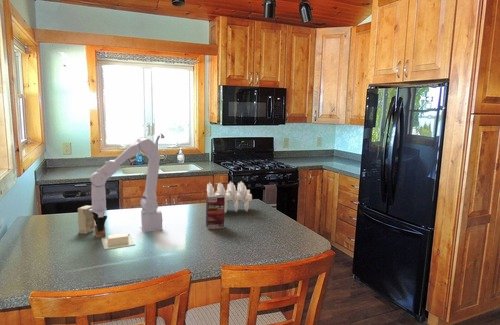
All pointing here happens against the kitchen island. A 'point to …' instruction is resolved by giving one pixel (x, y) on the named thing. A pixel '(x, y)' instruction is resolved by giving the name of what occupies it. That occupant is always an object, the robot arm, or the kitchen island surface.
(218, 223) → the supplement box
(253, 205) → the kitchen island surface
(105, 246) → the plate
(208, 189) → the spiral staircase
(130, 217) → the kitchen island surface
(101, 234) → the walnut brick
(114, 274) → the kitchen island surface
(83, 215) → the skincare box
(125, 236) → the base brick
